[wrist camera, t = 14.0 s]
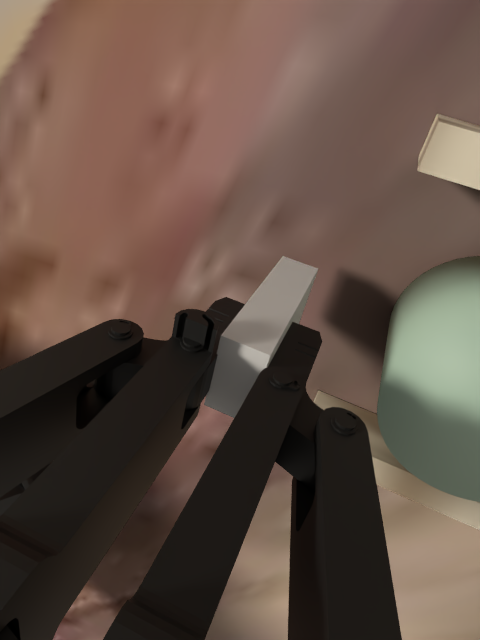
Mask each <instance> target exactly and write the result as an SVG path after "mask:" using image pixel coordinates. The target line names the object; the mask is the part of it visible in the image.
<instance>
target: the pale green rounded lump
mask: <svg viewBox="0 0 480 640" xmlns="http://www.w3.org/2000/svg"><path fill="white" fill-rule="evenodd" d="M377 417H378V425H379V428H380V432H381V435H382V437H383V439H384V441H385V444H386V445H387V447H388V448H389V450H390V452H391V453H392V454H393V456H394V457H395V458H396V459H397V460H398V462H399V463H400V464H401V465H402V466H403V467H405V468H406V469H407V470H408V471H409V472H410V473H412V474H413V475H414V476H416V477H417V478H418V479H420V480H422V481H423V482H425V483H427V484H428V485H430V486H432V487H434V488H436V489H438V490H440V491H443V492H445V493H448V494H451V495H453V496H456V497H460V498H463V499H467V500H472V501H477V502H480V256H474V257H465V258H460V259H455V260H452V261H449V262H446V263H443V264H441V265H438V266H436V267H434V268H432V269H430V270H428V271H427V272H425V273H423V274H422V275H420V276H419V277H418V278H416V279H415V280H414V281H413V282H412V283H411V284H410V285H409V286H408V287H407V288H406V289H405V290H404V291H403V293H402V294H401V295H400V297H399V298H398V300H397V302H396V304H395V306H394V308H393V311H392V313H391V317H390V322H389V328H388V335H387V342H386V349H385V356H384V363H383V370H382V376H381V383H380V390H379V397H378V406H377Z"/></svg>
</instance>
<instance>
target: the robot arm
mask: <svg viewBox="0 0 480 640" xmlns="http://www.w3.org/2000/svg"><path fill="white" fill-rule="evenodd" d="M317 271H318V268H315V267H312V266H309V265H306V264H304V263H301V262H298V261H295V260H293V259H290V258H287V257H284V256H283V257H282V258H281V259H280V260H279V262H278V263H277V264H276V266H275V267H274V268H273V269H272V271H271V272H270V273H269V275H268V276H267V277H266V278H265V280H264V281H263V282H262V283H261V285H260V286H259V287H258V289H257V290H256V291H255V292H254V294H253V295H252V296H251V298H250V299H249V300H248V301H247V303H246V304H243V303H240V302H238V301H235V300H233V299H230V298H227V297H225V298H222V299H220V300H217V301H215V302H214V303H213V304H212V305H211V306H210V308H209V309H208V310H207V311H206V312H204V311H201V310H197V309H186V310H181V311H180V312H178V313H176V315H175V321H174V327H173V333H172V337H171V338H170V339H169V340H168V341H162V340H154V339H149V338H143V335H144V333H143V330H142V328H141V327H140V326H139V325H138V324H136V323H134V322H131V321H129V320H123V319H113V320H109V321H106V322H103V323H101V324H99V325H97V326H95V327H93V328H90V329H88V330H86V331H84V332H82V333H80V334H78V335H75V336H73V337H71V338H69V339H67V340H65V341H63V342H60V343H58V344H56V345H54V346H52V347H50V348H48V349H45V350H43V351H41V352H39V353H37V354H35V355H33V356H30V357H28V358H26V359H24V360H22V361H20V362H18V363H16V364H13V365H11V366H9V367H7V368H5V369H3V370H1V371H0V640H53V637H54V635H55V632H56V630H57V628H58V626H59V624H60V622H61V621H62V619H63V617H64V616H65V614H66V613H67V611H68V610H69V608H70V607H71V605H72V604H73V602H74V601H75V599H76V598H77V596H78V595H79V593H80V592H81V590H82V589H83V587H84V586H85V584H86V583H87V581H88V580H89V578H90V577H91V575H92V574H93V572H94V571H95V569H96V567H97V566H98V564H99V563H100V561H101V560H102V558H103V557H104V555H105V554H106V552H107V551H108V549H109V548H110V546H111V545H112V543H113V542H114V540H115V539H116V537H117V536H118V534H119V533H120V531H121V530H122V528H123V527H124V525H125V524H126V522H127V521H128V519H129V518H130V516H131V515H132V513H133V512H134V510H135V509H136V507H137V506H138V504H139V503H140V501H141V500H142V498H143V497H144V495H145V494H146V492H147V491H148V489H149V488H150V486H151V485H152V483H153V482H154V480H155V478H156V477H157V475H158V474H159V472H160V471H161V469H162V468H163V466H164V465H165V463H166V462H167V460H168V459H169V457H170V456H171V454H172V453H173V451H174V450H175V448H176V447H177V445H178V444H179V442H180V441H181V439H182V438H183V436H184V435H185V433H186V432H187V430H188V429H189V427H190V426H191V424H192V423H193V421H194V420H195V418H196V417H197V415H198V412H199V408H200V404H201V402H202V400H203V399H204V397H205V396H206V400H205V404H204V405H206V406H208V407H211V408H213V409H215V410H217V411H220V412H222V413H224V414H227V415H229V416H231V417H233V418H234V420H233V422H232V423H231V425H230V427H229V429H228V431H227V432H226V434H225V436H224V438H223V439H222V441H221V443H220V445H219V447H218V448H217V450H216V452H215V454H214V455H213V457H212V459H211V461H210V463H209V464H208V466H207V468H206V470H205V472H204V473H203V475H202V477H201V479H200V480H199V482H198V484H197V486H196V488H195V489H194V491H193V493H192V495H191V496H190V498H189V500H188V502H187V504H186V505H185V507H184V509H183V511H182V512H181V514H180V516H179V518H178V520H177V521H176V523H175V525H174V527H173V528H172V530H171V532H170V534H169V536H168V537H167V539H166V541H165V543H164V545H163V546H162V548H161V550H160V552H159V553H158V555H157V557H156V559H155V561H154V562H153V564H152V566H151V568H150V569H149V571H148V573H147V575H146V577H145V578H144V580H143V582H142V584H141V585H140V587H139V589H138V590H137V592H136V594H135V595H134V596H133V598H131V599H129V600H127V602H126V603H125V604H124V606H123V607H122V608H121V610H120V612H119V613H118V615H117V616H116V618H115V620H114V621H113V623H112V625H111V627H110V628H109V630H108V632H107V634H106V635H105V637H104V639H103V640H204V639H205V637H206V634H207V632H208V629H209V627H210V624H211V622H212V619H213V617H214V614H215V612H216V609H217V607H218V604H219V602H220V599H221V596H222V594H223V591H224V589H225V586H226V584H227V581H228V579H229V576H230V574H231V571H232V569H233V566H234V564H235V561H236V559H237V556H238V554H239V551H240V549H241V546H242V544H243V541H244V538H245V536H246V533H247V531H248V528H249V526H250V523H251V521H252V518H253V516H254V513H255V511H256V508H257V506H258V503H259V501H260V498H261V496H262V493H263V491H264V488H265V485H266V483H267V480H268V478H269V475H270V473H271V470H272V468H273V465H274V463H275V462H276V463H278V464H279V465H280V466H281V467H283V468H284V469H285V470H286V471H287V472H289V473H290V474H291V475H292V476H293V479H292V500H291V539H290V577H289V616H288V640H402V638H401V632H400V626H399V619H398V613H397V607H396V601H395V595H394V589H393V583H392V576H391V570H390V564H389V558H388V552H387V546H386V539H385V533H384V527H383V521H382V515H381V509H380V502H379V496H378V490H377V484H376V478H375V472H374V466H373V459H372V453H371V447H370V441H369V435H368V430H367V428H366V425H365V423H364V422H363V421H362V420H361V418H360V417H359V416H357V415H356V414H354V413H353V412H351V411H349V410H347V409H344V408H340V407H330V408H326V409H325V410H323V409H321V408H320V407H319V406H317V405H316V404H315V403H314V402H313V401H312V400H311V399H310V398H309V396H308V394H307V392H306V382H307V379H308V377H309V374H310V372H311V369H312V366H313V364H314V361H315V359H316V356H317V354H318V351H319V349H320V346H321V343H322V339H321V336H320V332H318V331H315V330H313V329H310V328H308V327H305V326H303V325H300V324H299V322H300V320H301V317H302V314H303V311H304V308H305V305H306V303H307V300H308V297H309V294H310V291H311V288H312V285H313V283H314V280H315V277H316V274H317ZM206 394H207V395H206ZM52 461H53V462H52ZM51 462H52V463H51ZM50 463H51V464H50Z"/></svg>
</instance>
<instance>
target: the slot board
mask: <svg viewBox="0 0 480 640" xmlns="http://www.w3.org/2000/svg"><path fill="white" fill-rule="evenodd" d="M418 171H420V172H423V173H426V174H429V175H433V176H436V177H439V178H442V179H445V180H449V181H452V182H455V183H458V184H461V185H465V186H468V187H471V188H474V189H478V190H480V126H479V125H475V124H472V123H468V122H465V121H461V120H458V119H454V118H451V117H447V116H444V115H440V114H437V115H436V117H435V119H434V122H433V124H432V126H431V129H430V131H429V133H428V136H427V138H426V140H425V143H424V145H423V147H422V150H421V152H420V154H419V159H418ZM314 403H315V404H316V405H317V406H319V407H320V408H321V409H323V410H325V409H326V408H330V407H340V408H344V409H347V410H349V411H351V412H353V413H354V414H356V415H357V416H359V417H360V418H361V420H362V421H363V422H364V423H365V425H366V428H367V430H368V435H369V441H370V447H371V453H372V459H373V466H374V472H375V478H376V484H377V485H378V486H380V487H382V488H385V489H387V490H389V491H391V492H394V493H396V494H398V495H400V496H403V497H405V498H407V499H410V500H412V501H414V502H416V503H419V504H421V505H423V506H425V507H428V508H430V509H432V510H434V511H437V512H439V513H441V514H443V515H446V516H448V517H450V518H453V519H455V520H457V521H459V522H462V523H464V524H466V525H468V526H471V527H473V528H475V529H477V530H480V502H477V501H472V500H467V499H463V498H460V497H456V496H453V495H451V494H448V493H445V492H443V491H440V490H438V489H436V488H434V487H432V486H430V485H428V484H427V483H425V482H423V481H422V480H420V479H418V478H417V477H416V476H414V475H413V474H412V473H410V472H409V471H408V470H407V469H406V468H405V467H403V466H402V465H401V464H400V463H399V462H398V460H397V459H396V458H395V457H394V456H393V454H392V453H391V452H390V450H389V448H388V447H387V445H386V444H385V441H384V439H383V437H382V435H381V432H380V428H379V425H378V417H377V414H375V413H372V412H370V411H367V410H365V409H362V408H360V407H358V406H355V405H353V404H350V403H348V402H345V401H343V400H341V399H338V398H336V397H333V396H331V395H329V394H326V393H324V392H321V391H319V390H318V392H317V395H316V397H315V399H314Z"/></svg>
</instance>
